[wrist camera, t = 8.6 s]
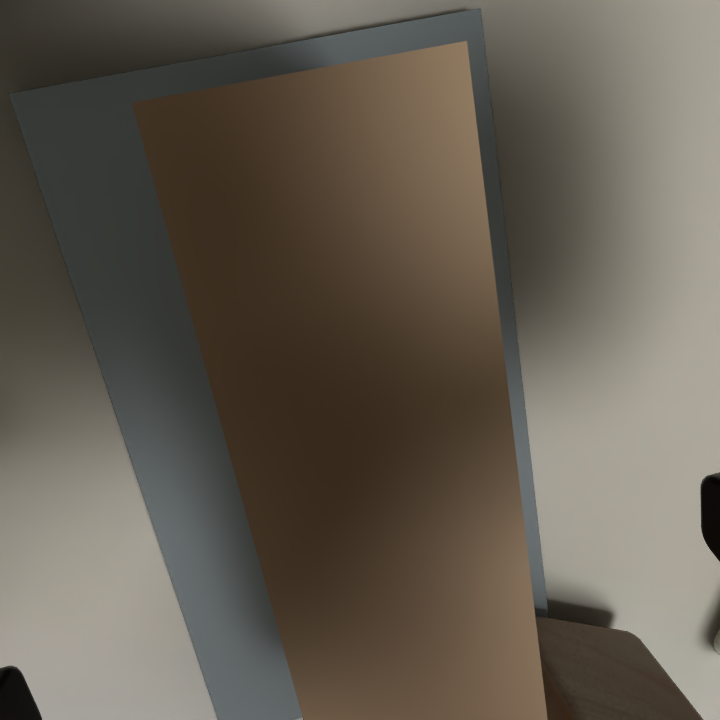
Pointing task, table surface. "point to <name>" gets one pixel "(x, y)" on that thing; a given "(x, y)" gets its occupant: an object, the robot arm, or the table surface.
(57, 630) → the table surface
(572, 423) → the table surface
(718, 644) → the multiport hub
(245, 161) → the walnut panel
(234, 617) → the rubber mat
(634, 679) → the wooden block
